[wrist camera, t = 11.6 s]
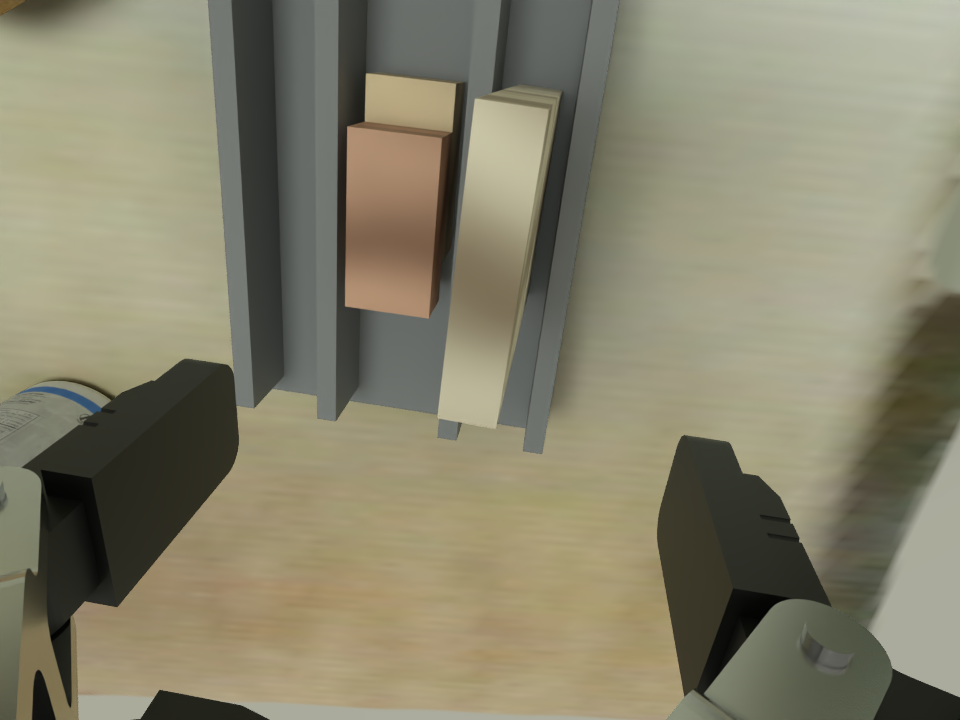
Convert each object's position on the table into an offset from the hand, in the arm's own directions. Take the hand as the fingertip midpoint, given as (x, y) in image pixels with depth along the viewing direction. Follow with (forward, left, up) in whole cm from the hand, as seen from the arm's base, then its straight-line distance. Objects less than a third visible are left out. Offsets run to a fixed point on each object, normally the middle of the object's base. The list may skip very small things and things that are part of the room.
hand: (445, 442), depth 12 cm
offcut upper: (+1, -6, -20) cm, 21 cm away
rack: (0, -6, -24) cm, 25 cm away
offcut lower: (-1, -6, -23) cm, 23 cm away
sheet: (0, 0, -23) cm, 23 cm away
